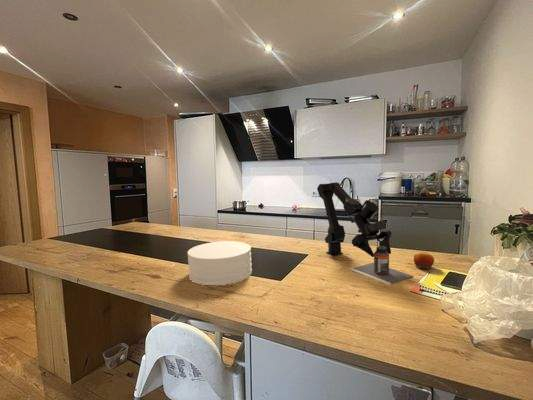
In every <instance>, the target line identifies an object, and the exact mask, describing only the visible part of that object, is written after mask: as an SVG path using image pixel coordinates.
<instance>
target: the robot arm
mask: <svg viewBox="0 0 533 400" xmlns="http://www.w3.org/2000/svg"><path fill="white" fill-rule="evenodd" d="M316 190H317V192H318V196H319V198H321V199H322V201H323V205H324V207H325V213H326V217H327V221H328V225H329V226H328V228H327V235H326V236H325V238H324V242H325V243H326V244H328V246H327V249H328V251H325V253H326V254H328V255H330V256H333V257H335V256H339V255H343V254H344V252H342V245H341V244H342V243H344V241H345V237H346V231H345V228H344V225H341V224H340V223H339V220H338V215H337V211H336V207H335V203H334V200H333V197H334V195H335V196H336V198H337V199H338V200H339V201H340V203H342V205H343V206H342V207H343V209H344V212H345V213H346V214H347V215H348V216H351V220H350V223H352V224H354V223H355V225H356V227H357V228H358V230H357V232H358V234H356V235H355V236H354V237H353V238H352V240H351V244H352V246H353V247H356V248H357V249H360V250H361V251H364V253H366V254H367V255H368V256H370V257H372V258H374V256H375V255H374V252H373V249H372V247H371V246H370V244H369V242H370V241H375V240H377V241H378V242H379V243H378V244H379V245H380V246H384V247H386V248H387V251H386V252H388V253H389V255H390V254H392V250H391V245H390V239H391V238H392V236H393V233H392V232H391V231H390V230H385V228H386V227H387V224H386V223H387V222H386V221H385V220H379V221H377V222H370V219H372V218H373V217H374V215H376V214H377V212H378V211H379V206H378V205H377V203H375V202H372V201H371V200H370V199H366V200H364V202H363V204H362V203H361V202H360V201H359V200H357V199H355V198H352V197H351V196H350V194H349V193H347V191H346V190H344V188H343V187H342V186H341V185H340V183H339V182H338V181H337V182H329V183H319V184H318V186H317V188H316ZM353 215H354V216H353ZM381 230H382V231H381Z"/></svg>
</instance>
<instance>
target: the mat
mask: <svg viewBox="0 0 533 400" xmlns="http://www.w3.org/2000/svg"><path fill="white" fill-rule="evenodd" d="M349 271H352V272H354V273H357V274H359V275H362V276H364V277H367V278H370V279H372V280H374V281H376V282H379V283H382V284H384V285H386V286H390V285H393V284H396V283H399V282H402V281H405V280H409V279H410V278H413V277H414V275H412V274H409V273H406V272H402V271H399V270H397V269H394V268H391V267H389V273H388V274H387V275H379V274H376V273H375V272H374V262H371V263H366V264H364V265H360V266H356V267H353V268H349Z"/></svg>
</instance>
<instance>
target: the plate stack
mask: <svg viewBox="0 0 533 400" xmlns="http://www.w3.org/2000/svg"><path fill="white" fill-rule="evenodd" d="M251 251H252V246H251V245H250V244H248V243H246V242H242V241H233V240H232V241H231V240H227V241H226V240H223V241H214V242H212V241H211V242H207V243H202V244H198V245H195V246H193V247H191V248H190V249H189V250H187V263H188V277H189V278H190V279H191V280H192V281H194V282H196V283H199V284H204V285H222V286H227V285H226V284H229V285H232V284H231V283H233V284H236V282H237V283H240V282H241V281H244V280H246V279H249V277H250V276H251V275H252V273H253V268H252V252H251ZM190 279H189V280H190ZM192 281H191V282H192ZM204 285H203V286H204Z"/></svg>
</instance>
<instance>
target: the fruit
mask: <svg viewBox="0 0 533 400" xmlns="http://www.w3.org/2000/svg"><path fill="white" fill-rule="evenodd" d="M413 263H414V265H415V267H417V268H418V269H420V268H421V269H427V270H428V271H429V269H431V268H432V267H433V265H434V263H435V258H434V256H433V255H432V254H430V253H428V252H424V251H423V252H421V251H420V252H417V253H415V254H414V255H413Z"/></svg>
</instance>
